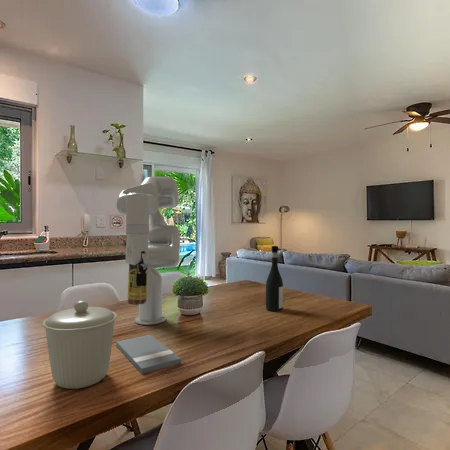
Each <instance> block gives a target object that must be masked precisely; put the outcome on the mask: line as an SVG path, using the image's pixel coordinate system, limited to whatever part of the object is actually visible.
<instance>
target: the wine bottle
mask: <svg viewBox="0 0 450 450" xmlns="http://www.w3.org/2000/svg"><path fill="white" fill-rule="evenodd" d="M278 254H279V246H277V245H272V246H271V268H270V271H269V274H268V276H267V278H266V284H265V309H266V310H268V311H270V312H280V311H282V310H283V309H284V283H283V278H282V275H281V274H280V270H279V266H278V261H279V260H278V256H279V255H278Z"/></svg>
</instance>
